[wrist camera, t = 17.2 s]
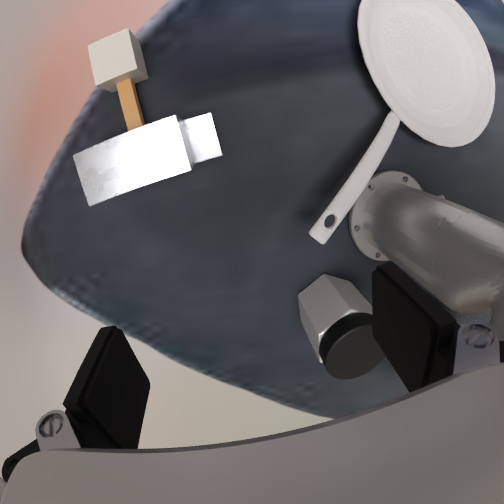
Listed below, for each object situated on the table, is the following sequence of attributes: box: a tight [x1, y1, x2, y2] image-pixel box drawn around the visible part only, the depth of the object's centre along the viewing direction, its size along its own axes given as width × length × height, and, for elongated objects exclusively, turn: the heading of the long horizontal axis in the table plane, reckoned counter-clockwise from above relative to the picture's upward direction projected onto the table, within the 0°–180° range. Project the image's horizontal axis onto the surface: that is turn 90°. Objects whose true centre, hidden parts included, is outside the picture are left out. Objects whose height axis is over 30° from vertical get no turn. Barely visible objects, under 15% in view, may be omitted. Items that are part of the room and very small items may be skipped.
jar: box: [298, 274, 385, 379], centre depth 36 cm, size 9×8×12 cm
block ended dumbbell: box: [88, 28, 149, 131], centre depth 27 cm, size 4×16×6 cm, turn 14°
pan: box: [309, 0, 495, 244], centre depth 29 cm, size 26×44×6 cm, turn 143°
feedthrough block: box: [73, 113, 222, 206], centre depth 27 cm, size 16×5×9 cm, turn 104°
